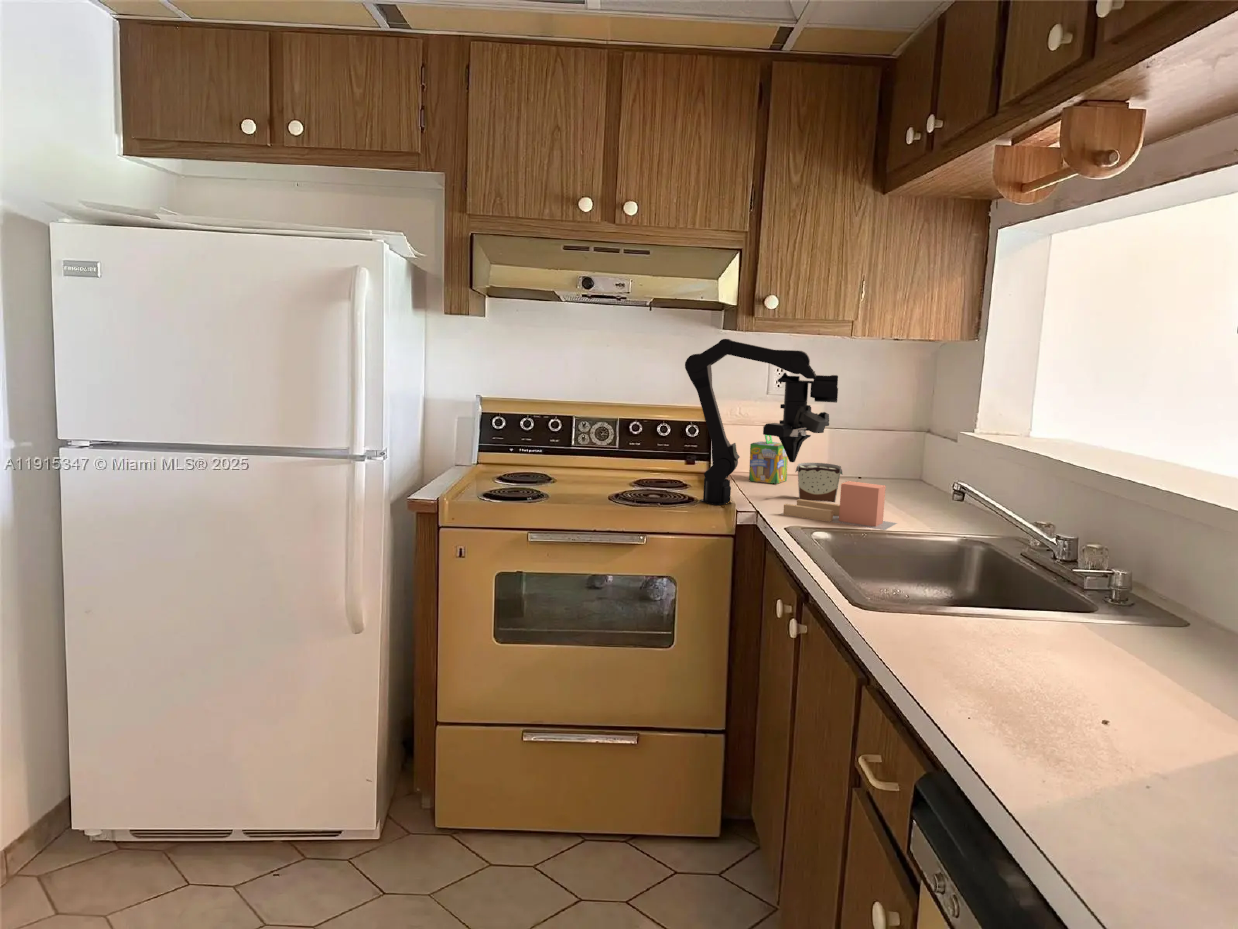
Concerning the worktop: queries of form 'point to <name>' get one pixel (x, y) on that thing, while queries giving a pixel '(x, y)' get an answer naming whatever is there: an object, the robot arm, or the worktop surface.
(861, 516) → the block
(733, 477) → the worktop surface
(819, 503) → the chute
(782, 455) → the chalk box
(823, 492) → the food container
